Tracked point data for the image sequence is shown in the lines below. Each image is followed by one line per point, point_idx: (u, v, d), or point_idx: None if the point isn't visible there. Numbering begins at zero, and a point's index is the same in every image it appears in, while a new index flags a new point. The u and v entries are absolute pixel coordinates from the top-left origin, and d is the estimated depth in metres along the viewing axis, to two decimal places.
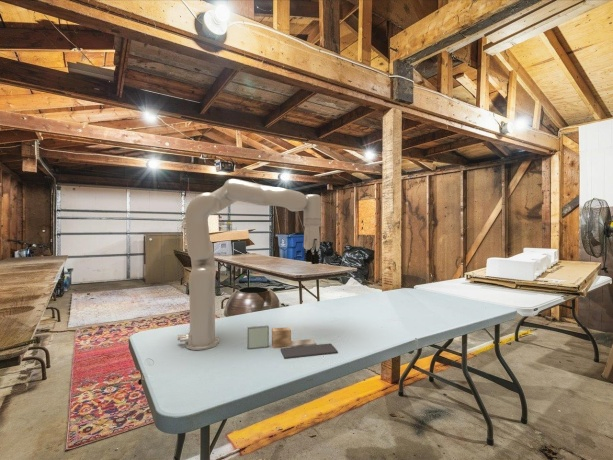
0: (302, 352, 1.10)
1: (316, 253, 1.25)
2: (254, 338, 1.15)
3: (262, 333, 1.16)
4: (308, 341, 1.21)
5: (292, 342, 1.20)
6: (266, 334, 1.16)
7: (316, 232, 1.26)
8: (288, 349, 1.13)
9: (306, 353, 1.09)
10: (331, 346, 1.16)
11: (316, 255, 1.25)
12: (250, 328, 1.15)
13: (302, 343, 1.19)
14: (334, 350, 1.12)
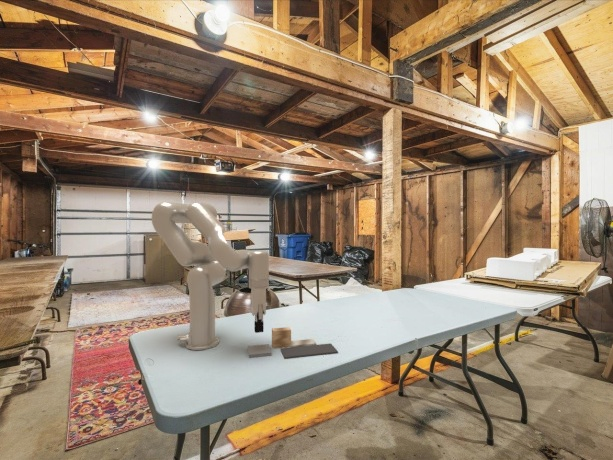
0: (302, 352, 1.10)
1: (259, 321, 1.13)
2: None
3: None
4: (308, 341, 1.21)
5: (292, 342, 1.20)
6: None
7: (261, 296, 1.10)
8: (288, 349, 1.13)
9: (306, 353, 1.09)
10: (331, 346, 1.16)
11: (260, 323, 1.13)
12: (252, 357, 1.07)
13: (302, 343, 1.19)
14: (334, 350, 1.12)
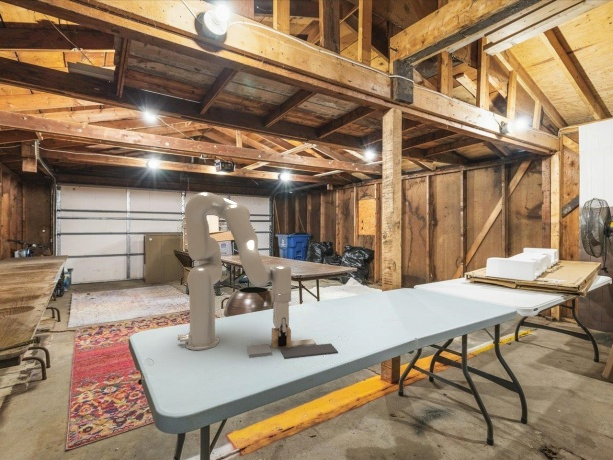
0: (302, 352, 1.10)
1: (283, 335, 1.15)
2: None
3: None
4: (308, 341, 1.21)
5: (292, 342, 1.20)
6: None
7: (285, 310, 1.14)
8: (288, 349, 1.13)
9: (306, 353, 1.09)
10: (331, 346, 1.16)
11: (283, 337, 1.15)
12: (252, 357, 1.08)
13: (302, 343, 1.19)
14: (334, 350, 1.12)
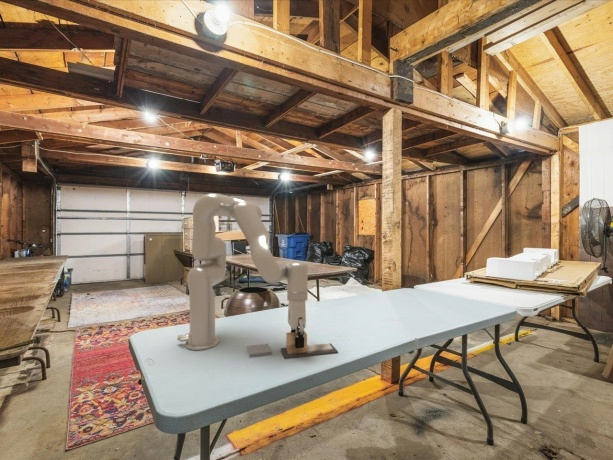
0: None
1: (300, 336, 1.06)
2: None
3: None
4: (324, 346, 1.14)
5: (308, 347, 1.13)
6: None
7: (301, 309, 1.07)
8: None
9: (306, 353, 1.09)
10: None
11: (300, 338, 1.07)
12: None
13: (318, 348, 1.12)
14: (334, 350, 1.12)
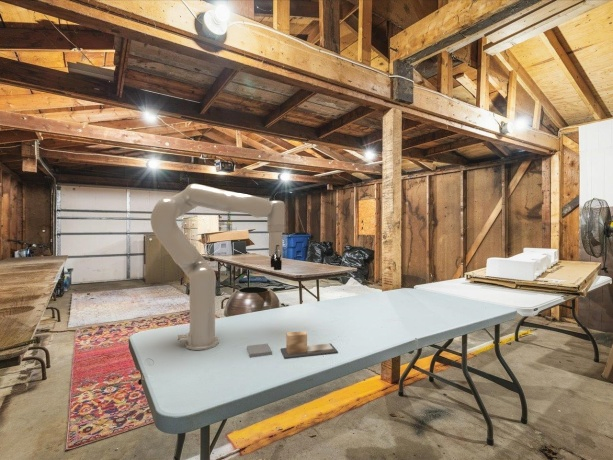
0: None
1: (278, 259, 1.26)
2: None
3: None
4: (324, 346, 1.14)
5: (308, 347, 1.13)
6: None
7: (279, 238, 1.27)
8: None
9: (306, 353, 1.09)
10: None
11: (278, 261, 1.26)
12: None
13: (318, 348, 1.12)
14: (334, 350, 1.12)
